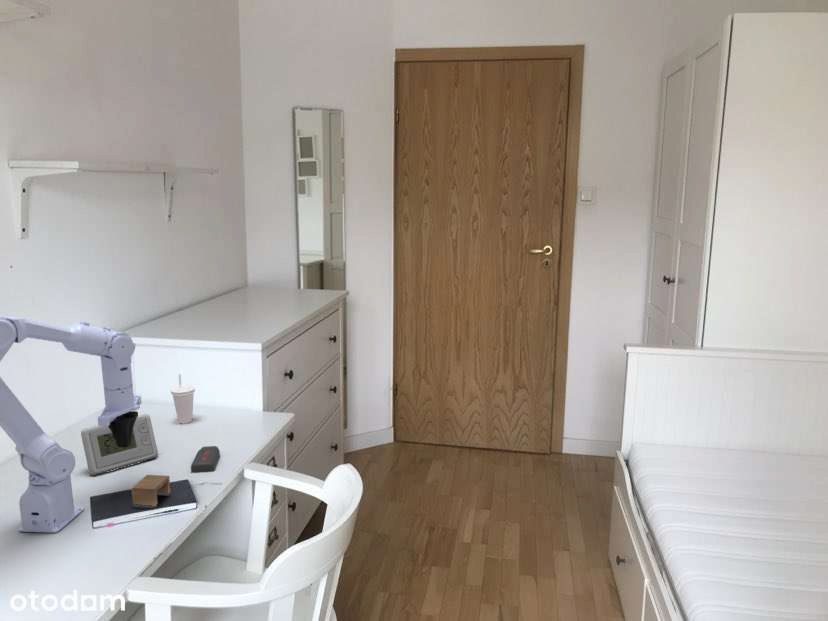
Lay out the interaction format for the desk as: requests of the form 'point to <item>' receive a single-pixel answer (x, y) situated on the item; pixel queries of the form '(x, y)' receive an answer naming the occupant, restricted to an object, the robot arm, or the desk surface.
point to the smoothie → (183, 402)
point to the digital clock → (107, 453)
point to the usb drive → (206, 459)
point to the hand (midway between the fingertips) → (124, 446)
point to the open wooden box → (150, 489)
